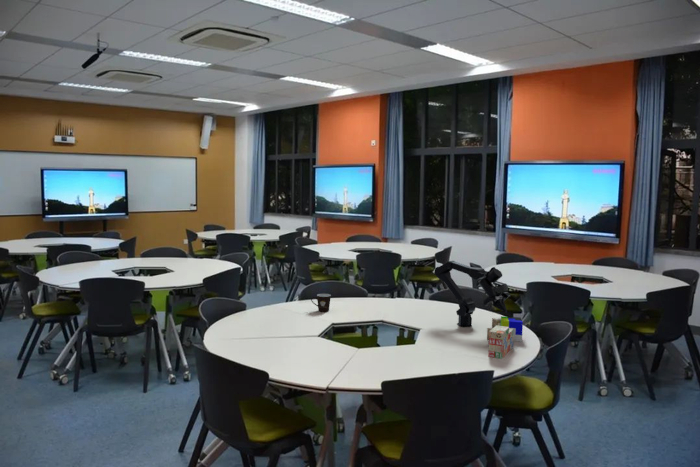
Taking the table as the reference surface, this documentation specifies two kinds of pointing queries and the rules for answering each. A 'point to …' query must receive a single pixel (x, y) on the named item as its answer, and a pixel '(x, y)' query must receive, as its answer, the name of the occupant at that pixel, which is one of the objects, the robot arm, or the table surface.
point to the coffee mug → (323, 302)
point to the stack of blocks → (500, 341)
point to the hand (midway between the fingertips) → (506, 311)
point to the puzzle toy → (513, 326)
